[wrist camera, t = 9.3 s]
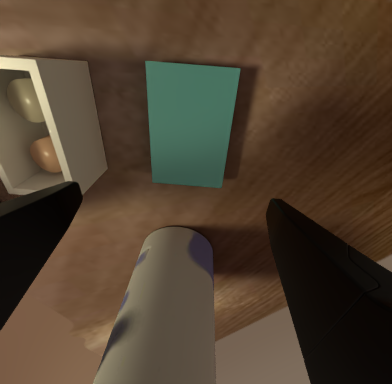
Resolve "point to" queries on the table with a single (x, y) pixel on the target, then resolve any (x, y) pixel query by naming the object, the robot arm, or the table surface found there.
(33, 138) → the storage box
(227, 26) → the table surface
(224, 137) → the lid
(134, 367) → the container
